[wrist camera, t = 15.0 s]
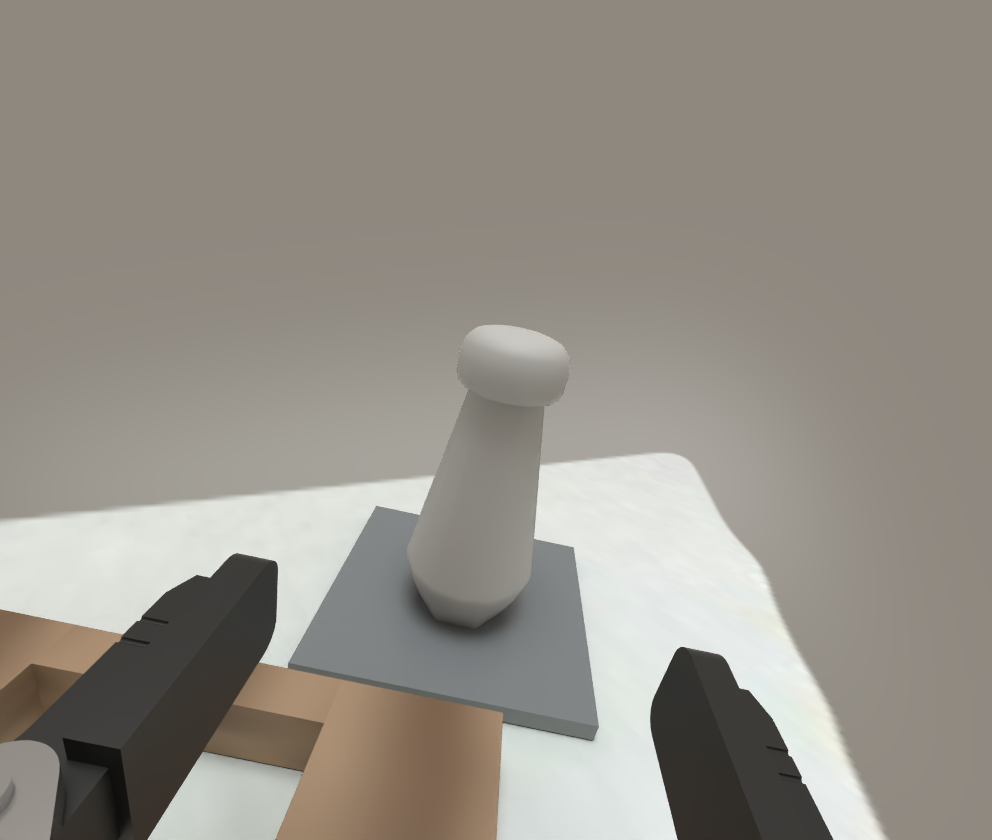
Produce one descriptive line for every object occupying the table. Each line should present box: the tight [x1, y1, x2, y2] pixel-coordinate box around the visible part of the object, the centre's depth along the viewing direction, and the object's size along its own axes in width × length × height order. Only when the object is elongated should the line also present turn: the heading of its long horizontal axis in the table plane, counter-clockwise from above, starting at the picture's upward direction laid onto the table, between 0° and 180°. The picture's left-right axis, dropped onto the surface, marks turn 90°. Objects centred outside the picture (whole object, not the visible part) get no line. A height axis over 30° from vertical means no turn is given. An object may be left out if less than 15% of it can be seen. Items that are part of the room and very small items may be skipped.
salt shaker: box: [407, 325, 570, 629], centre depth 20 cm, size 6×6×13 cm
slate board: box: [288, 506, 599, 740], centre depth 23 cm, size 12×11×1 cm
